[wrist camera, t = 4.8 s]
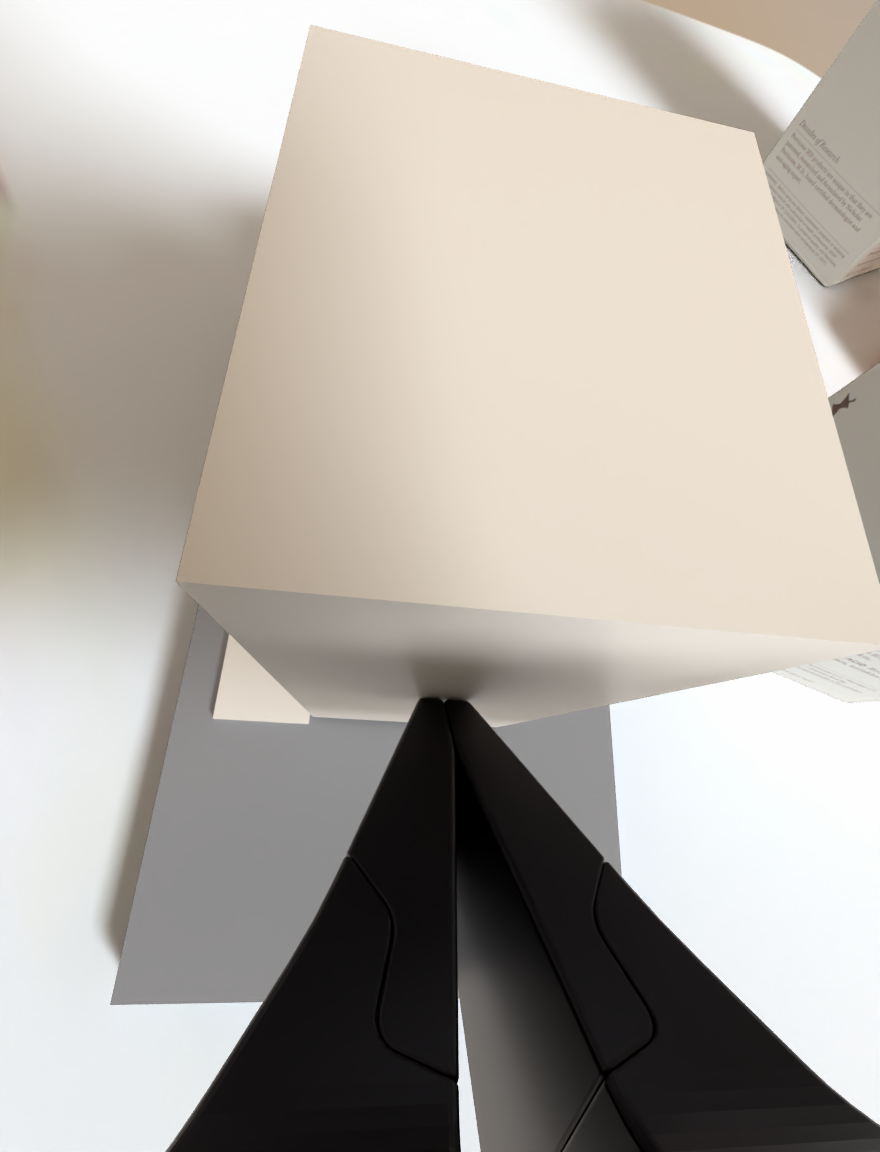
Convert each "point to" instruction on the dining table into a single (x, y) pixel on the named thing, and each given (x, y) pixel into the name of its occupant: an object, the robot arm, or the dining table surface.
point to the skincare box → (876, 468)
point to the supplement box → (834, 165)
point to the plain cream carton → (519, 407)
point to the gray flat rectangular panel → (287, 821)
